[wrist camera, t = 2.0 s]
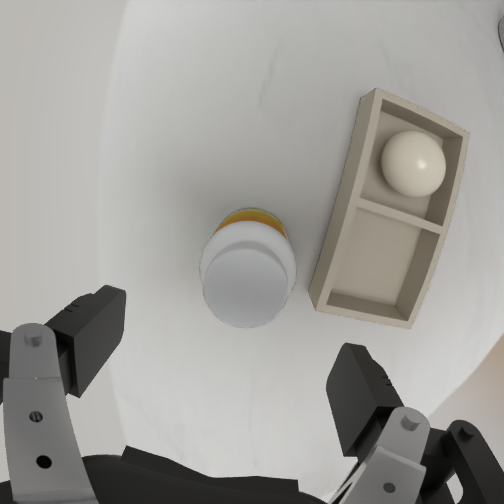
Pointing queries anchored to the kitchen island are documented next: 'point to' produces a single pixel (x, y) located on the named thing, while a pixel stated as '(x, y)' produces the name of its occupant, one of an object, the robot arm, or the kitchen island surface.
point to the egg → (413, 164)
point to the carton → (386, 220)
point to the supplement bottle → (248, 268)
